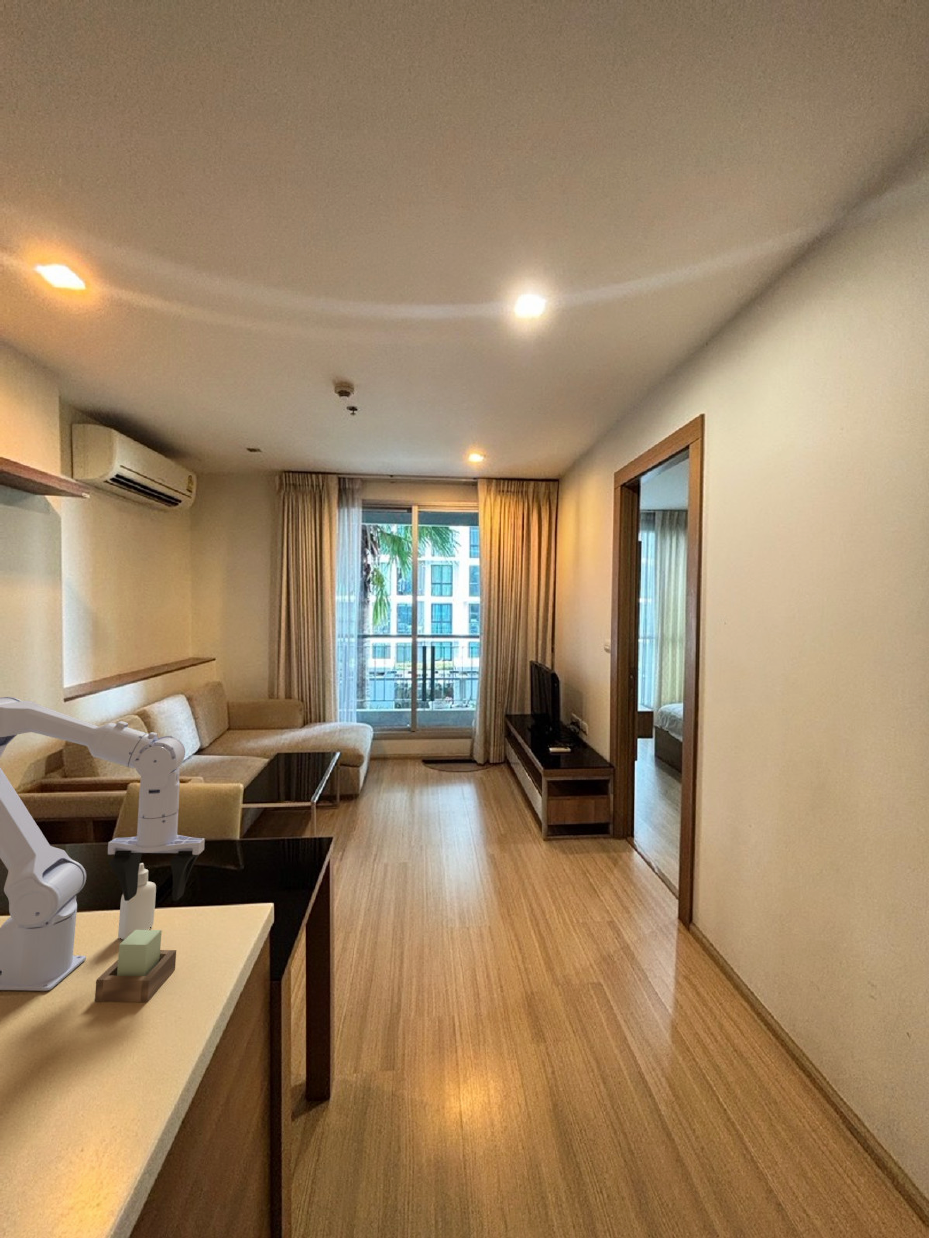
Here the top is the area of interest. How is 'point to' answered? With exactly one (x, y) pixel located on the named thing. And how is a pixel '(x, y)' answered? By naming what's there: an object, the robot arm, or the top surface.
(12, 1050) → the top surface
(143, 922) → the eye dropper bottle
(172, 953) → the socket block
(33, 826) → the robot arm
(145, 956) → the pale green block
